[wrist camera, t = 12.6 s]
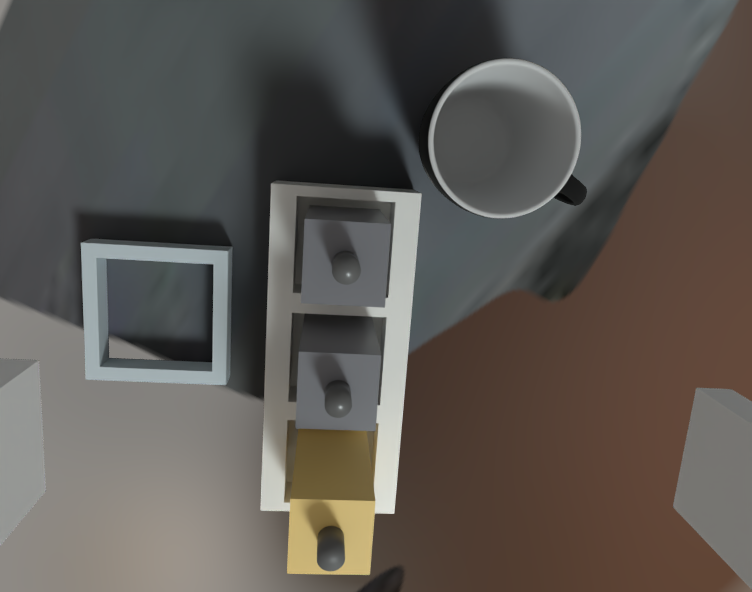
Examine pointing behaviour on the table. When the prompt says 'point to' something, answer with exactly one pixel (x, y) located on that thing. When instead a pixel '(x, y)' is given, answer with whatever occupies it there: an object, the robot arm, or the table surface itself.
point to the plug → (331, 504)
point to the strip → (292, 326)
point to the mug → (503, 139)
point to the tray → (97, 313)
